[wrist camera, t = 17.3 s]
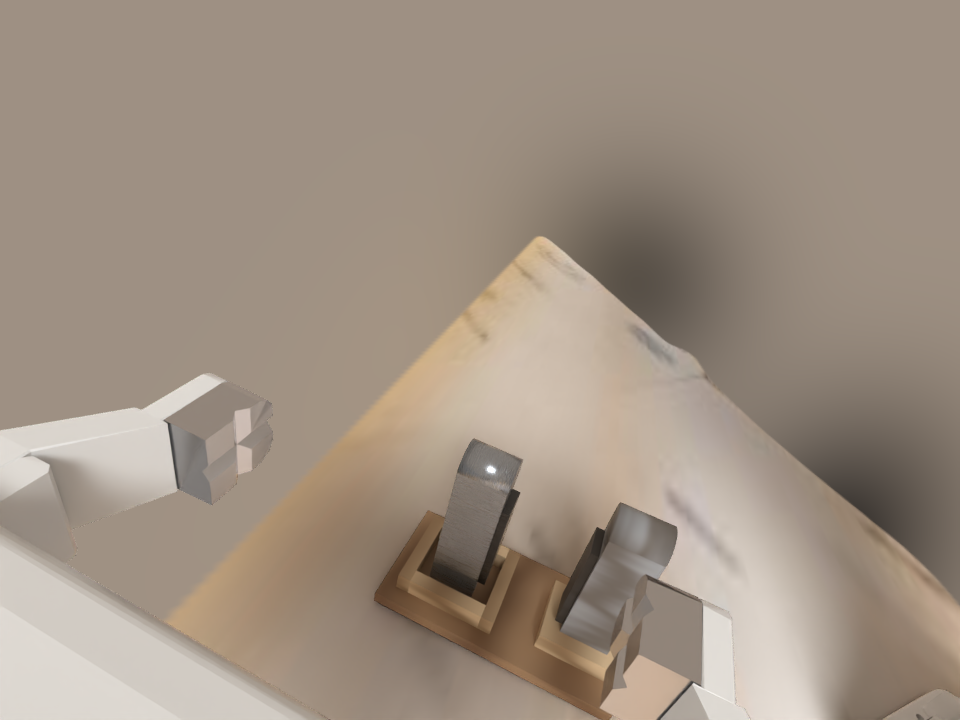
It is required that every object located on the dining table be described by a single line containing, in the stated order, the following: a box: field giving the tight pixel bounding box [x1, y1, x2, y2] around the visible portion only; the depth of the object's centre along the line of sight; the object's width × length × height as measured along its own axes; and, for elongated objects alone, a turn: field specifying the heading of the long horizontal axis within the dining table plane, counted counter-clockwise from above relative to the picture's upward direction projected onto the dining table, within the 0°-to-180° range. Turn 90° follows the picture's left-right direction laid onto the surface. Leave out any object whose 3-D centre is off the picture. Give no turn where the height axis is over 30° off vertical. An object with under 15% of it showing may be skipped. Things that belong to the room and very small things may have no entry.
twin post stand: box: [374, 503, 677, 720], centre depth 38 cm, size 18×9×14 cm, turn 68°
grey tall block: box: [429, 439, 523, 598], centre depth 38 cm, size 4×3×14 cm
